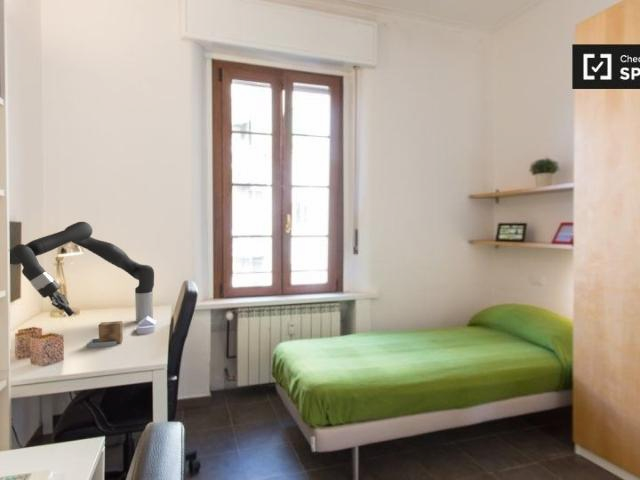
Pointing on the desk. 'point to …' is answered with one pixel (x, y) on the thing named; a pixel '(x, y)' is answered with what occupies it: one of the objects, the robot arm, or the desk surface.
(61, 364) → the desk surface
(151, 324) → the wedge on round base
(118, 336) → the walnut block
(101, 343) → the grey open-top box
